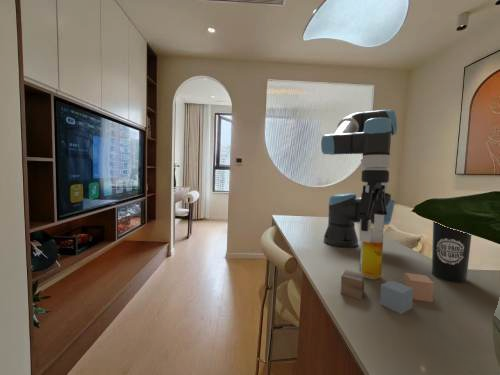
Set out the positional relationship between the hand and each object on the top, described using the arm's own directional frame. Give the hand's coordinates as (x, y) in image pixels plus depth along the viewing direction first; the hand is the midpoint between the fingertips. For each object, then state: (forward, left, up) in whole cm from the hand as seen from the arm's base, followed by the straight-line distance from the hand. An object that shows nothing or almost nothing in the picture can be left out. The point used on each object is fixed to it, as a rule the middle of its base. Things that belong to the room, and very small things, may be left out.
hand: (372, 237), depth 74 cm
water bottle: (-18, +18, -13) cm, 28 cm away
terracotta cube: (+4, +13, -13) cm, 18 cm away
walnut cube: (+15, 0, -13) cm, 19 cm away
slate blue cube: (+14, +10, -13) cm, 21 cm away
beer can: (0, 0, -13) cm, 13 cm away
